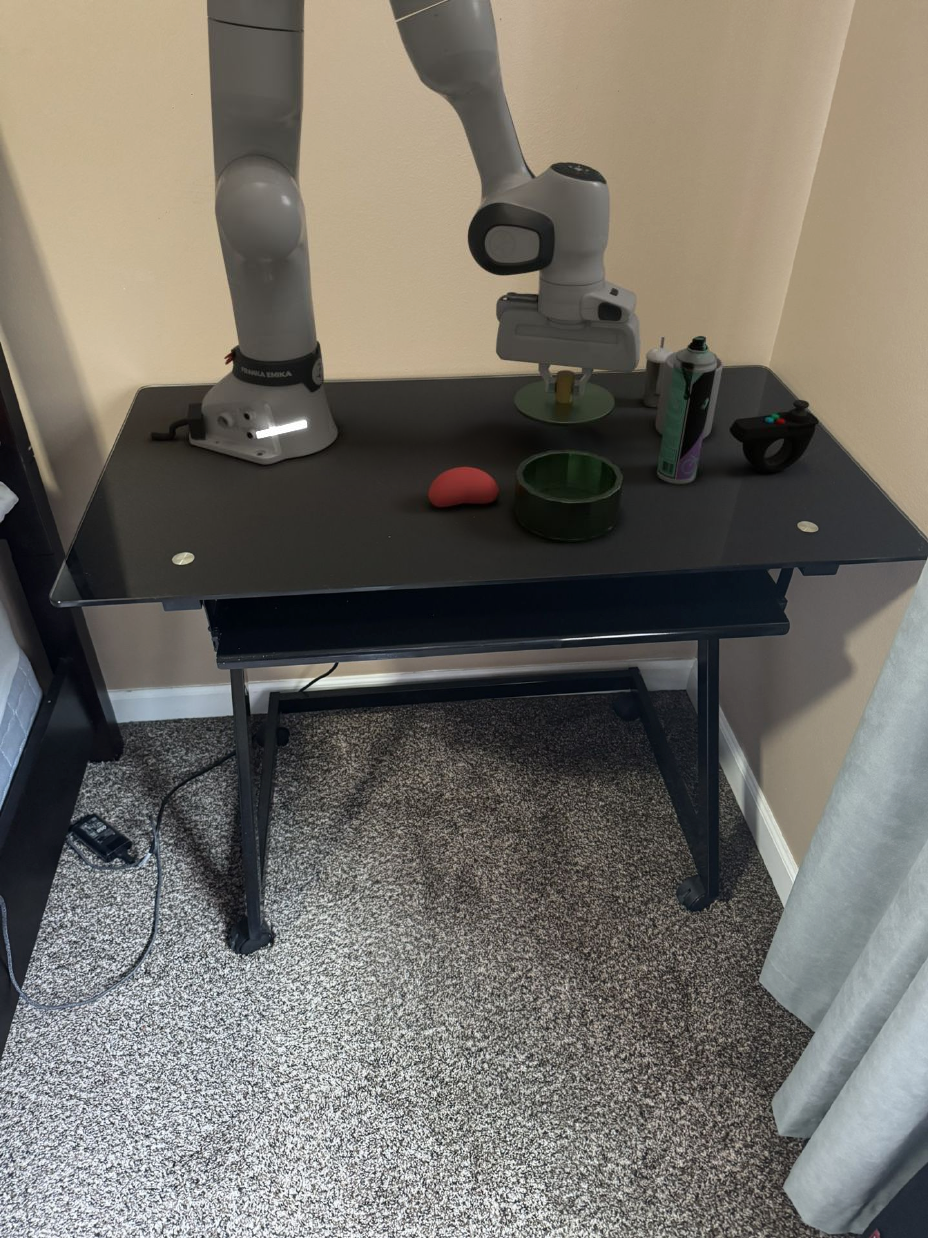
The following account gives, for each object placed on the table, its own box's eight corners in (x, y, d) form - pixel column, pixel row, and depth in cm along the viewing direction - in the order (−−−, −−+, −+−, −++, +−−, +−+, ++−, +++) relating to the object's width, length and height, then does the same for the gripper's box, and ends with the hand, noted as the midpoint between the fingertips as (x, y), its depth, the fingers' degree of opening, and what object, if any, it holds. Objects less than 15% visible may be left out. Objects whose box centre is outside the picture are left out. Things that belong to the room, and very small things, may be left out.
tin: (504, 533, 114) (505, 492, 110) (528, 482, 124) (530, 443, 120) (608, 549, 111) (613, 509, 107) (624, 496, 121) (629, 457, 117)
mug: (650, 416, 140) (660, 349, 133) (703, 416, 140) (716, 349, 133) (664, 452, 131) (675, 383, 124) (721, 452, 131) (736, 382, 124)
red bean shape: (438, 496, 124) (421, 469, 118) (498, 476, 121) (483, 448, 116) (442, 525, 121) (424, 499, 116) (503, 505, 119) (488, 478, 113)
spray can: (695, 485, 123) (721, 347, 111) (656, 481, 124) (677, 343, 111) (695, 467, 127) (720, 331, 115) (657, 463, 128) (678, 328, 116)
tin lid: (503, 423, 125) (503, 389, 122) (526, 381, 136) (527, 349, 133) (605, 435, 122) (608, 400, 119) (620, 391, 133) (624, 358, 129)
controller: (810, 471, 126) (828, 407, 120) (731, 481, 124) (745, 416, 118) (794, 457, 129) (811, 394, 123) (717, 467, 127) (730, 403, 121)
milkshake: (668, 396, 146) (677, 337, 139) (667, 410, 142) (676, 350, 135) (641, 394, 147) (649, 335, 140) (638, 407, 142) (646, 348, 136)
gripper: (490, 298, 119) (490, 394, 128) (642, 311, 114) (631, 409, 123) (502, 283, 124) (500, 376, 132) (648, 295, 119) (637, 391, 128)
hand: (564, 392), depth 128 cm, fingers closed on tin lid, 2 cm apart
